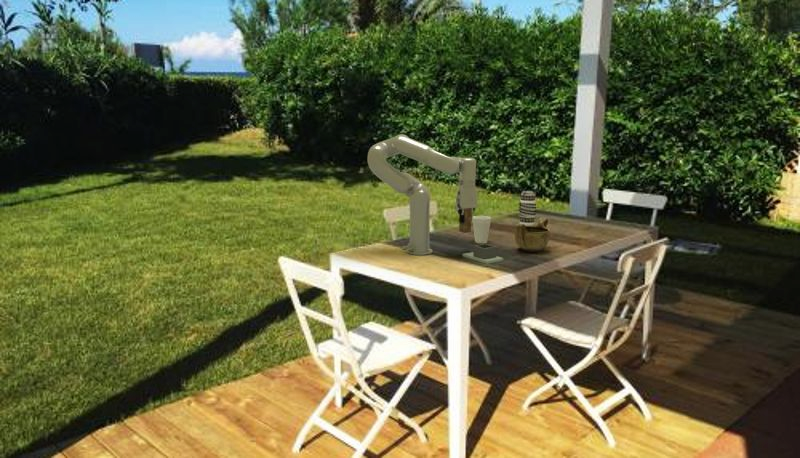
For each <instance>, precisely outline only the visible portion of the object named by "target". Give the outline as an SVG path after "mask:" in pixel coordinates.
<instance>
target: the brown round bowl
mask: <svg viewBox="0 0 800 458" xmlns="http://www.w3.org/2000/svg"><path fill="white" fill-rule="evenodd" d="M548 224H549V219H548V218H546V217H540V218H539V219H538V222H537V224H536V225H535V226H525V225H524V224H520V222H519V223H516V225H515V231H514V238H515V243H516V245H517V246H518V248H520V249H522V250H523V251H525V252H529V253H530V252H531V253H532V252H538V251H541V250H543V249H545V248H546V247H547V246H548V243H549V241H550V228H548V227H547V226H548Z"/></svg>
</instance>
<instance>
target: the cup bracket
mask: <svg viewBox="0 0 800 458" xmlns="http://www.w3.org/2000/svg"><path fill="white" fill-rule="evenodd" d="M472 247H473V249H472V250H473V251H471V252H465V253H462V257H464V258H466V259H470V260H474V261H476V262H480V263H483V264H493V263H497V262H499V263H500V262H503V261H504V257H500V256H498V255H497V251H498V250H497V249H498V247H497V246H496V245H493V244H489V243H480V244H477V245H476V244H475V245H473V246H472Z"/></svg>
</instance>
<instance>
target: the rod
mask: <svg viewBox="0 0 800 458" xmlns="http://www.w3.org/2000/svg"><path fill="white" fill-rule="evenodd" d="M461 211H462V209H461ZM464 215H465V217H464V223H460V222H459V224H458V225H459V226H458V227H459V228H458V232H460V233H464V234H466V233H467V234H468V233H471V232H472V222H471V220H472V221H473V214H472V208H468V209H465V210H464Z"/></svg>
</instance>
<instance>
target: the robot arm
mask: <svg viewBox="0 0 800 458" xmlns="http://www.w3.org/2000/svg"><path fill="white" fill-rule="evenodd" d="M399 154H400V155H402V156H405V157H407V158H409V159H412V160H414V161H417V162H420V163H422V164H423V165H426V166H429V167H431V168H432V169H434V170H437V171H439V172H442V173H445V174H447V175H455V174H457V173H458V172H459V176H458V177H459V179H458V182H457V185H458V187H457V191H456V198H455V205H454V208H453V210H455V211H456V212H457V213H458V222H459V223H464V217H465V215H464V210H465V209H468V208H472V215H473V214H474V212H475V211H476V209H477V208H479V206H478V190H477V186H476V174H477V173H476V170H477V169H476V168H477V160H476V159H475V158H474V157H457V156H448V155H445V154H442V153H440V152H439V151H437V150H435V149H433V148H432V147H431V146H429V145H428V144H426V143H425V144H424V143H422V142H420V141H417V140H415V139H413V138H410V137H409V136H408V135H406V134H402V133H401V134H398V135H395V136H392V137H391V138H387V139H385V140H383V141H380V142H377V143H375V144H374V145H372V146H370V149H368V152H367V164H368V167H369V169H370V172H372V173H373V174H374V175H375V176H376V177H377V178H378V179H380V180H381V181H382V182H383V183H384V184H386V185H387V186H388V187H390V188H392V190H393V191H395V192H396V193H398V194H402V195H403V194H404V195H405V196H406V197H408V198H409V200H408V201H409V242H408V243H407V245H403V246H401V251H406V253H407V254H409V255H414V256H426V255H430V254H433V248H430V229H431V227H430V223H431V222H430V220H431V219H430V216H431V215H430V211H431V210H430V209H431V208H430V206H431V205H430V204H431V196H432V195H431V191H430V189H429V188H428V187H427V186H426V185H425V184H424V183H422V181H420V180H418V179H417V178H416V177H415V176H413V175H411V174H410V173H408V172H405V171H400V170H398V169H397V168H396V167H394V166H393V165H392V164H390V163H389V162H388V161H387V160H386V159H388V158H391V157H393V156H396V155H399ZM461 209H462V211H461ZM471 223H473V219H472V220H471Z"/></svg>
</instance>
